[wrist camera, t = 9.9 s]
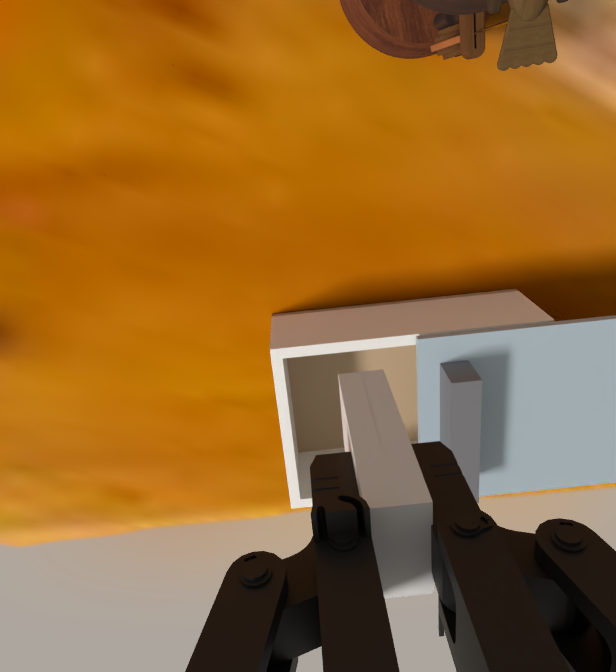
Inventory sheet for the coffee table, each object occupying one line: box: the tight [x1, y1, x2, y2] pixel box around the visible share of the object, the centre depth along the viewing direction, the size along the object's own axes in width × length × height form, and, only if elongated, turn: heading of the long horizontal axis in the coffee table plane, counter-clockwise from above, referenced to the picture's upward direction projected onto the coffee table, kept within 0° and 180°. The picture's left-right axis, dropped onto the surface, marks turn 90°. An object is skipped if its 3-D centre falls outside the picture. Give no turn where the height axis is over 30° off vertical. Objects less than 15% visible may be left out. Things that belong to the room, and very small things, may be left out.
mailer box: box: [270, 289, 554, 509], centre depth 45 cm, size 20×14×7 cm
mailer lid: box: [416, 315, 616, 503], centre depth 40 cm, size 20×14×4 cm
